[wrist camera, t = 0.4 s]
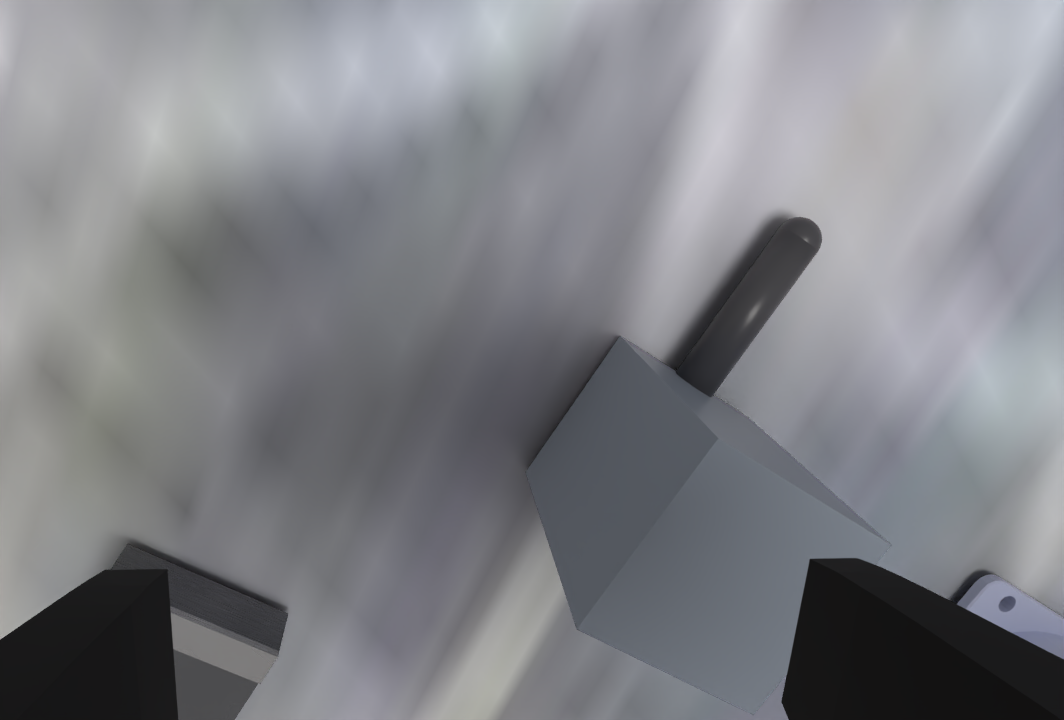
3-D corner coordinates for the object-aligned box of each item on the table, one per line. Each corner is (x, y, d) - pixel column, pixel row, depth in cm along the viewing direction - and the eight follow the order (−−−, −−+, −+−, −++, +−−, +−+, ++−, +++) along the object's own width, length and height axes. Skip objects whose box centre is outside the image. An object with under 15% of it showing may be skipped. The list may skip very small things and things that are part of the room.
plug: (861, 264, 18) (1066, 331, 13) (654, 542, 20) (753, 715, 14) (735, 168, 17) (898, 195, 11) (525, 472, 19) (576, 629, 13)
